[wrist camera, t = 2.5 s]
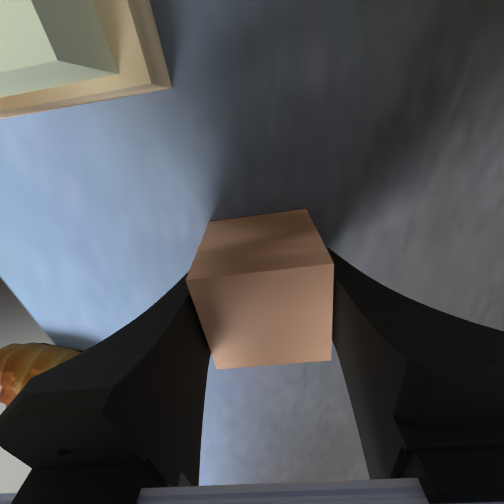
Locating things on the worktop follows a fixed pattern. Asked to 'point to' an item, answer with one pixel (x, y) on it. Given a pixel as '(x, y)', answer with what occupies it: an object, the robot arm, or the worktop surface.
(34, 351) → the pastry
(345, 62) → the worktop surface
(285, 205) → the worktop surface
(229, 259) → the terracotta cube
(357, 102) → the worktop surface
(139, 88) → the oak slab
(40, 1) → the sage slab
